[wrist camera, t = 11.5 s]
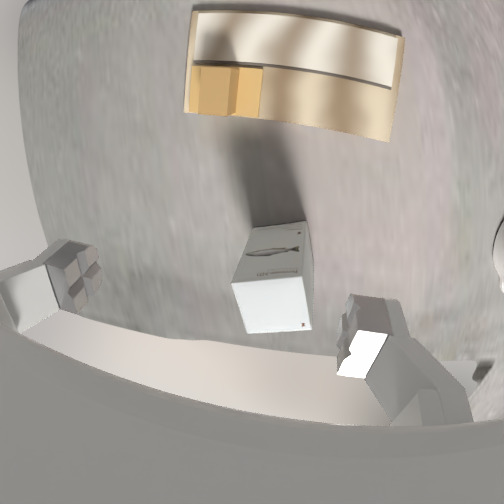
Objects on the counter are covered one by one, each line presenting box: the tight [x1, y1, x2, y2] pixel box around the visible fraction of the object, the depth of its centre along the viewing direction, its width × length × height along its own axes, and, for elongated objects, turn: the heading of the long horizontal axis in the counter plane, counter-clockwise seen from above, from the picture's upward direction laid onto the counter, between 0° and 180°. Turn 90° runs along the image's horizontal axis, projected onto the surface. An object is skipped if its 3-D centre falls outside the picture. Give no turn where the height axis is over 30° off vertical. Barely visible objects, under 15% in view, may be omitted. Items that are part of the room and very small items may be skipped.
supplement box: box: [231, 221, 314, 334], centre depth 36 cm, size 7×7×13 cm
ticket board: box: [184, 10, 405, 143], centre depth 29 cm, size 24×13×2 cm, turn 85°
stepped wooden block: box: [189, 66, 264, 118], centre depth 29 cm, size 8×6×5 cm
